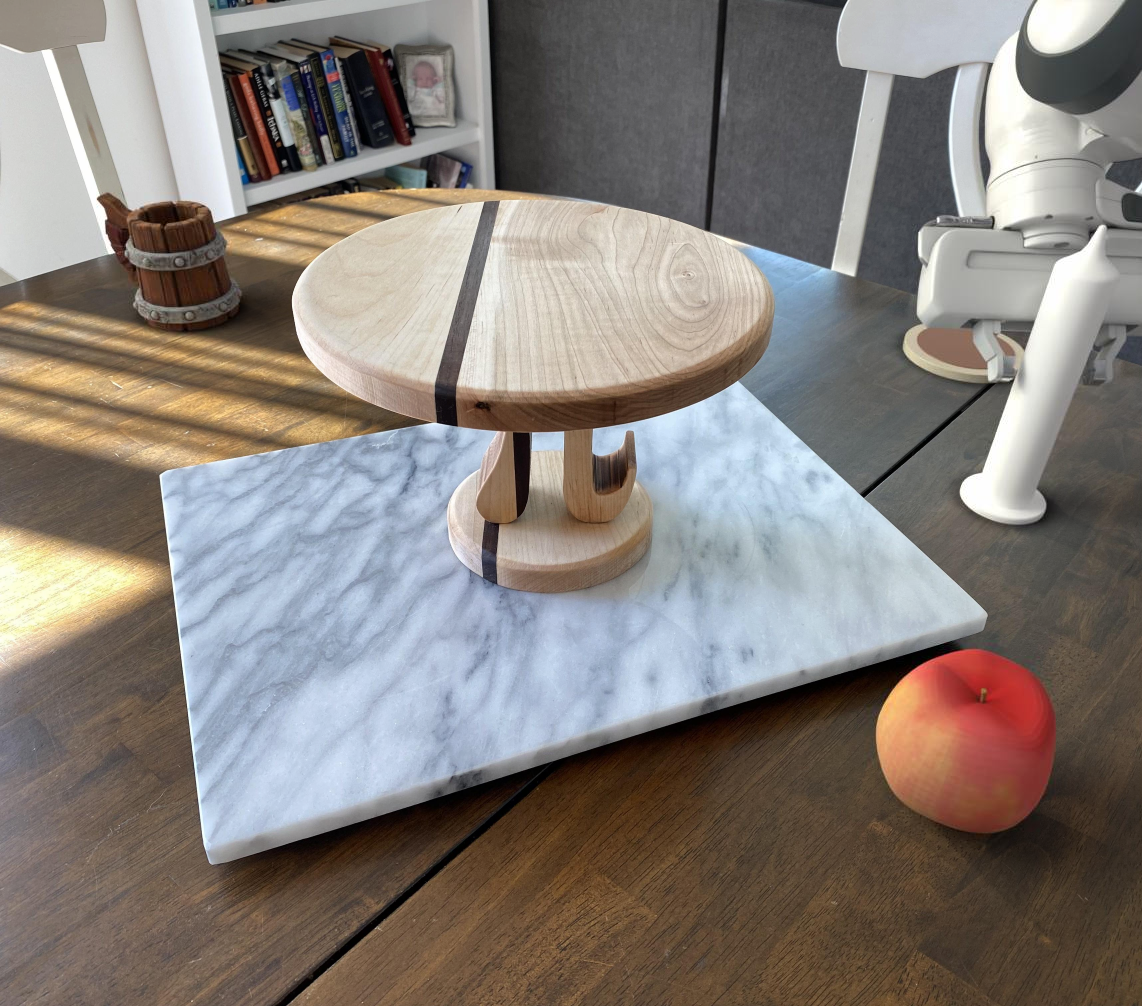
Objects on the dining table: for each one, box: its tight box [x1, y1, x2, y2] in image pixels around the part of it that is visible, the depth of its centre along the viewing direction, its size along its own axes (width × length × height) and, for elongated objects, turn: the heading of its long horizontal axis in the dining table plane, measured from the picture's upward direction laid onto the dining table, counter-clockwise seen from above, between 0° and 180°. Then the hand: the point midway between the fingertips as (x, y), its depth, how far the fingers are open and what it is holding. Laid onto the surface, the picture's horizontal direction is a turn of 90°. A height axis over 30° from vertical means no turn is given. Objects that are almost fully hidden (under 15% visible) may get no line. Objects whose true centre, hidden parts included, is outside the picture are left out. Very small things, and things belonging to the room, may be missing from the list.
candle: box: [959, 225, 1120, 526], centre depth 75 cm, size 7×7×25 cm
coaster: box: [902, 323, 1025, 384], centre depth 105 cm, size 13×13×1 cm
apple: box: [875, 648, 1057, 834], centre depth 54 cm, size 10×10×10 cm
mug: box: [96, 191, 243, 332], centre depth 106 cm, size 12×14×15 cm
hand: (1049, 382), depth 75 cm, fingers open, 6 cm apart
